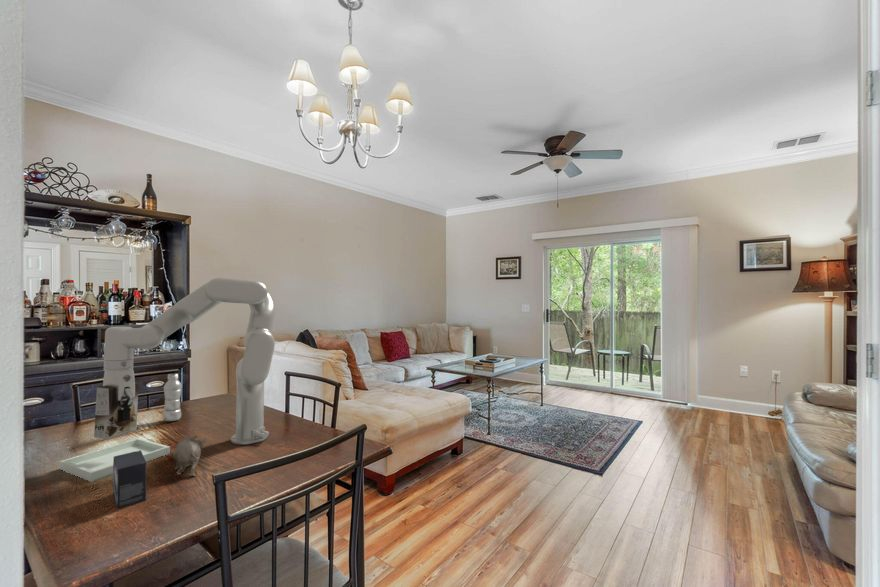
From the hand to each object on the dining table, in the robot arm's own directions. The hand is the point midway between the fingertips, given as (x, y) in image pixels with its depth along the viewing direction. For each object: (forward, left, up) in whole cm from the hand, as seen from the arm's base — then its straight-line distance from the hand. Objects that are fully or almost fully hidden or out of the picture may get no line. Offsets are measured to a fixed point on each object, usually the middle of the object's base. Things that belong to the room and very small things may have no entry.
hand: (116, 418), depth 127 cm
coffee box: (0, 0, -5) cm, 5 cm away
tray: (0, 0, -14) cm, 14 cm away
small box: (-28, +11, -14) cm, 33 cm away
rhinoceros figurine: (-25, -8, -14) cm, 30 cm away
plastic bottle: (+26, -33, -14) cm, 44 cm away
